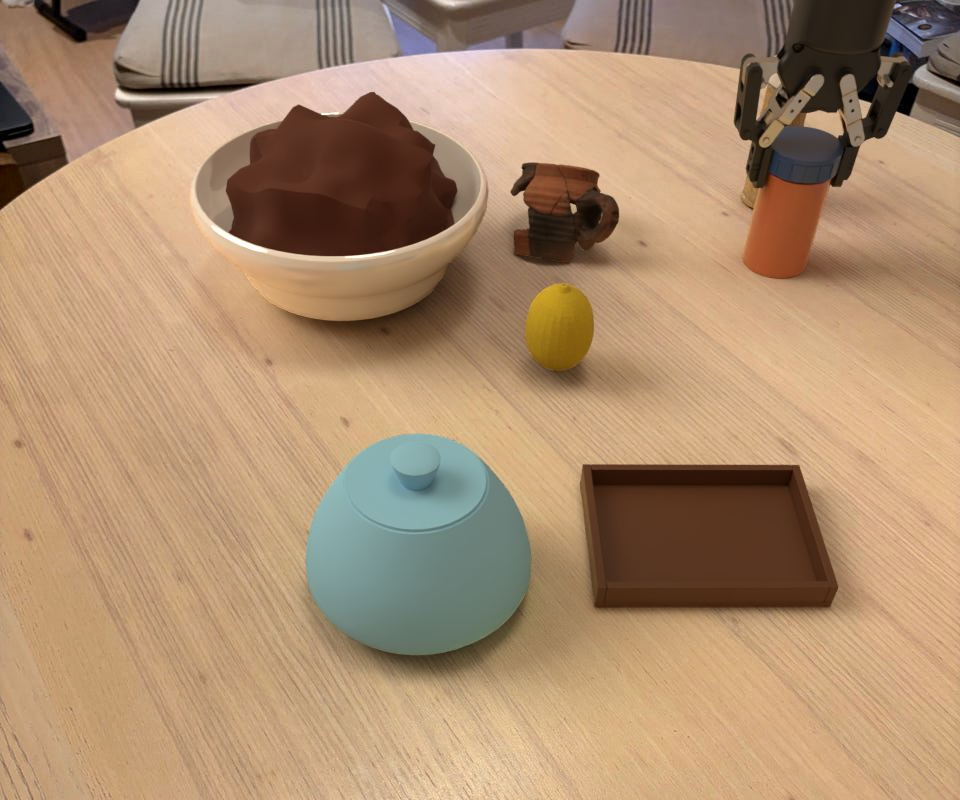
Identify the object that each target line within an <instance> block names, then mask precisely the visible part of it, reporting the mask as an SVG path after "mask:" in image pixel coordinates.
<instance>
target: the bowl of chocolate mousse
mask: <svg viewBox="0 0 960 800" xmlns="http://www.w3.org/2000/svg"><path fill="white" fill-rule="evenodd" d="M488 200H489V183H488V179H487V176H486V172H485V170H484V168H483V166H482V164H481V163H480V161H479V159H478V158H477V157H476V156H475V154H474V153H473V152H472V151H471V150H470V149H468V148H467V147H466V146H465V145H464V143H462V142H460V141H459V140H457V139H456V138H454V137H453V136H451V135H449V134H447V133H446V132H443V131H441V130H440V129H437V128H436V127H433V126H429V125H427V124H424V123H421V122H417V121H415V120H411V119H408V117H407V116H406V115H405V114H404V113H403V112H402V111H401V110H400V109H399V108H398V107H397V106H394V105H393V104H391V103H390V102H388V101H387V100H386V99H384V98H383V97H382V96H381V95H379V94H376V92H375V91H369V92H367V93H365V94H363V95H361V96H359V98H357V100H355V102H353V103H352V104H351V105H350V106H349V107H348V109H346V110H345V111H338V112H335V111H334V112H321V113H319V112H317V111H315V110H313V109H310V108H308V107H306V106H303V105H301V104H299V103H298V104H296V105H294V106H292V108H291V109H290V110H289V111H288V113H287V114H286V116H285V117H284V118H281V119H277V120H274V121H269V122H266V123H263V124H260V125H257V126H253V127H252V128H249V129H247V130H245V131H242V132H240V133H238V134H236V135H234V136H233V137H231V138H229V139H227V140H226V141H224V142H222V143H221V144H220V145H219V146H217V147H216V148H215V149H213V150H212V151H211V152H210V153H209V154H207V156H206V157H205V158H204V159H203V160H202V162H201V163H200V165H199V166H198V167H197V169H196V170H195V172H194V174H193V176H192V180H191V184H190V190H189V204H190V208H191V213H192V217H193V219H194V222H195V224H196V226H197V228H198V230H199V231H200V232H201V234H202V235H203V236H204V238H205V239H206V240H207V242H208V243H209V244H210V245H211V247H212V248H213V249H214V250H215V251H216V252H217V253H218V254H219V255H220V256H221V257H222V258H223V259H224V260H225V261H227V262H228V263H229V264H230V265H232V266H233V267H234V268H235V269H237V270H238V271H240V272H241V273H242V274H243V275H244V276H245V278H246V279H247V281H248V282H249V283H250V284H251V286H252V288H254V290H256V291H257V293H258V295H260V296H261V297H262V298H263V299H265V300H266V301H267V302H268V303H270V304H272V305H274V306H275V307H277V308H279V309H281V310H284V311H286V312H289V313H290V314H294V315H297V316H300V317H305V318H310V319H315V320H322V321H336V322H350V321H351V322H352V321H363V320H370V319H376V318H380V317H385V316H388V315H389V316H390V315H392V314H395V313H398V312H401V311H403V310H405V309H407V308H410V307H412V306H413V305H416V304H418V303H419V302H420V301H422V300H423V299H425V298H426V297H428V296H429V295H430V294H431V293H432V292H433V291H434V290H435V288H437V286H438V285H439V284H440V282H441V280H442V279H443V277H444V275H445V274H446V272H447V270H448V268H449V267H450V263H451V262H452V261H453V260H454V259H455V258H456V257H457V256H458V255H459V254H460V253H461V252H462V251H463V250H464V249H465V248H466V246H467V245H468V244H469V243H470V242H471V240H472V239H473V237H474V236H475V235H476V233H477V231H478V229H479V227H480V225H481V224H482V221H483V220H484V217H485V215H486V213H487V210H488V209H487V208H488V203H489V201H488Z"/></svg>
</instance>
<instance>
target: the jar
mask: <svg viewBox="0 0 960 800" xmlns="http://www.w3.org/2000/svg"><path fill="white" fill-rule="evenodd" d="M831 181H832V178H831V179H830V180H827V181H824V182H820V183H811V184H808V183H796V182H791V181H788V180H784V179H781V178H779V177H777V176H775V175H773V174H772V173H770V172H769V171H768V172H767V176H766V180H765V184H764V187H763V188H759V189H758V194H757V198H756V202H755V206H754V209H753V210H752V213H751V218H750V219H751V220H750V223H749V227H748V231H747V235H746V239H745V243H744V247H743V252H742V262H743V263H744V265H745V266H746V267H747V268H748V269H749V270H751V271H752V272H753V273H756V274H758V275H760V276H763V277H768V278H774V279H789V278H794V277H797V276H799V275H800V274H802V273H803V272H804V271H805V270H806V267H807V265H808V262H809V258H810V254H811V250H812V247H813V244H814V241H815V238H816V234H817V231H818V228H819V225H820V221H821V217H822V215H823V211H824V207H825V204H826V201H827V197H828V195H829V191H830V188H831Z"/></svg>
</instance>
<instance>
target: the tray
mask: <svg viewBox="0 0 960 800" xmlns="http://www.w3.org/2000/svg"><path fill="white" fill-rule="evenodd" d="M579 482H580V483H579V487H580V495H581V503H582V505H581V506H582V512H583V519H584V521H583V522H584V527H585V528H584V529H585V535H586V536H585V537H586V545H587V552H588V560H589V570H590V578H591V585H592V587H591V588H592V593H593V604H594V607H595V608H703V607H704V608H709V607H710V608H720V607H721V608H728V607H729V608H730V607H733V608H734V607H735V608H739V607H741V608H742V607H743V608H744V607H746V608H747V607H749V608H750V607H751V608H752V607H754V608H755V607H768V608H769V607H771V608H772V607H773V608H774V607H776V608H777V607H782V608H784V607H787V608H789V607H792V608H793V607H800V608H801V607H802V608H803V607H813V608H814V607H831V606H832V604H833V602H834V599H835V597H836V595H837V592H838V590H839V587H840V586H839V583H838V581H837V578H836V574H835V571H834V568H833V565H832V562H831V560H830V559H831V558H830V556H829V553H828V550H827V546H826V543H825V541H824V537H823V535H822V531H821V528H820V524H819V522H818V519H817V515H816V513H815V509H814V506H813V503H812V500H811V497H810V493H809V491H808V488H807V485H806V482H805V478H804V475H803V472H802V469H801V466H800V465H799V464H650V463H649V464H647V463H646V464H639V463H638V464H636V463H635V464H634V463H633V464H629V463H628V464H623V463H621V464H619V463H617V464H614V463H610V464H605V463H604V464H601V463H600V464H598V463H596V464H595V463H594V464H593V463H592V464H588V463H587V464H586V463H583V464H582V465H581V474H580V480H579Z"/></svg>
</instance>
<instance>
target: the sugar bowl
mask: <svg viewBox="0 0 960 800" xmlns="http://www.w3.org/2000/svg"><path fill="white" fill-rule="evenodd" d="M305 569H306V570H305V571H306V580H307V584H308V588H309V591H310V595H311V597H312V598H313V600H314V603H315V604H316V606H317V607H318V608H319V610H320V611H321V613H322V614H323V616H325V618H326V619H327V620H328V621H329V622H330V623H331V624H332V625H333V626H334V628H336V629H337V630H339V631H340V632H341V633H342V634H344V635H345V636H347V637H348V638H351V639H352V640H354V641H355V642H358V643H360V644H362V645H365V646H367V647H369V648H372V649H374V650H375V649H376V650H379V651H382V652H385V653H390V654H397V655H404V656H405V655H407V656H429V655H437V654H444V653H447V652H451V651H456V650H459V649H461V648H464V647H467V646H469V645H472V644H475V643H476V642H479V641H480V640H482V639H484V638H486V637H488V636H489V635H491V634H493V633H494V632H495V631H497V630H499V628H501V626H503V625H504V624H505V623H506V622H507V621H508V620H509V619H510V618H511V617H512V616H513V614H514V613H516V611H517V609H518V608H519V606H520V605H521V603H522V601H523V600H524V598H525V596H526V594H527V591H528V589H529V585H530V582H531V581H530V580H531V576H532V575H531V573H532V553H531V544H530V538H529V534H528V530H527V527H526V524H525V520H524V517H523V515H522V512H521V511H520V509H519V507H518V505H517V502H516V501H515V499H514V497H513V496H512V494H511V492H510V491H509V490H508V488H507V487H506V485H505V483H503V481H502V480H501V479H500V478H499V477H498V475H497V474H496V473H495V472H494V471H493V469H492V468H491V467H490V466H489V465H488V464H487V463H486V462H485V461H484V460H483V459H482V458H481V457H480V456H479V455H477V454H476V453H475V452H474V451H473V450H471V449H470V448H469V447H467V446H465V444H462V443H460V442H458V441H456V440H454V439H451V438H448V437H445V436H441V435H437V434H430V433H405V434H398V435H394V436H390V437H387V438H383V439H381V440H379V441H376V442H374V443H372V444H370V445H368V446H367V447H365V448H363V449H362V450H361V451H360V452H358V454H356V455H355V456H354V457H353V458H352V459H351V460H349V461H348V463H347V464H346V465H345V466H344V467H343V468H342V470H341V471H340V472H339V474H338V475H336V477H335V478H334V480H333V481H332V483H331V484H330V485H329V487H328V488H327V490H326V492H325V493H324V495H323V496H322V498H321V500H320V501H319V504H318V506H317V508H316V510H315V512H314V515H313V517H312V520H311V523H310V527H309V531H308V535H307V540H306V550H305Z"/></svg>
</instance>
